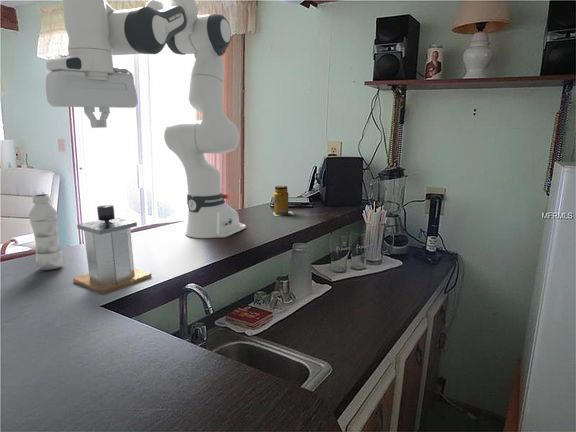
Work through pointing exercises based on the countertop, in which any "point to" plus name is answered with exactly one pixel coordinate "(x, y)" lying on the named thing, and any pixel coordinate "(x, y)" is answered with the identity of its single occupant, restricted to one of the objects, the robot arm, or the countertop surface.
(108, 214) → the plunger
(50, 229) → the plastic bottle
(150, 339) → the countertop surface
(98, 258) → the white box on plank
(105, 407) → the countertop surface
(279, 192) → the condiment
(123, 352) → the countertop surface
